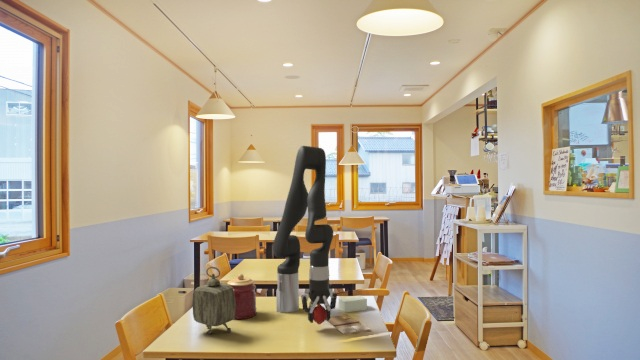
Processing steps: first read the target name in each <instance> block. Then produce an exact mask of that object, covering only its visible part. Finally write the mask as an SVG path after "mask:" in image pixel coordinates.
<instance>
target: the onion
mask: <svg viewBox="0 0 640 360" xmlns="http://www.w3.org/2000/svg"><path fill="white" fill-rule="evenodd" d="M312 313H313V322H315V323H316V324H317V325H321V324H323V323H324V322H325V321H326V318H327V312H326V308H325V306H324V305H322V304H318V305H316V306H315V308H314V310H313V312H312Z"/></svg>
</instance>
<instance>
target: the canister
mask: <svg viewBox="0 0 640 360" xmlns="http://www.w3.org/2000/svg"><path fill="white" fill-rule="evenodd" d="M254 283H255V280H254V279H252V278H250V277H247V276H244V274H243V273H239V274H238V275H237V277H233V278H231V279H230V280H228V282H226V284H227V285H230V286H231V287H233V289H234V293H235V316H234V319H233V320H244V319H249V318H253V317H254V316H256V314H257V299H256V298H257V293H256V288H257V286H256V285H255V284H254Z"/></svg>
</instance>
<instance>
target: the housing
mask: <svg viewBox="0 0 640 360" xmlns="http://www.w3.org/2000/svg"><path fill="white" fill-rule="evenodd" d="M338 309H339V310H341V311H342V312H343V313H350V312H356V311H364V310H365V311H366V310H368V298H366V297H364V296H362V295H354V296H348V297H347V296H346V297H339V298H338Z"/></svg>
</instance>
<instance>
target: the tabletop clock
mask: <svg viewBox="0 0 640 360" xmlns="http://www.w3.org/2000/svg"><path fill="white" fill-rule="evenodd" d="M211 269H212V270H213V269H214V270H216V271H217V272H218V275H216V274H215V273H212V274H211V275H210V274H209V273H208V271H209V270H211ZM205 271H206V275H207V277H210V278H209V279H208V280H207V281H206V284H205V285H201V286H198V287H196V288H195V289H194V290H193V293H192V317H193V321H195V322H196V323H199V324H201V325H205V326H206V327H207V328H208V330H207V334H208V335H211V334H212V333H213V330H212V327H219V326H221V325H222V326H224V327H225V328H226V332H227V333H231V331H232V328H230V327H228V325H227V323H229V322H231V321H233V320H235V319H234V316H235V293H234V289H233V287H231V286H230V285H228V284H227V283H222V282H221V281H220V280H219V279H218V278H219V277H220V275H221V271H220V270H219V268H217V267H216V266H209V267H207V269H206V270H205Z"/></svg>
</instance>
